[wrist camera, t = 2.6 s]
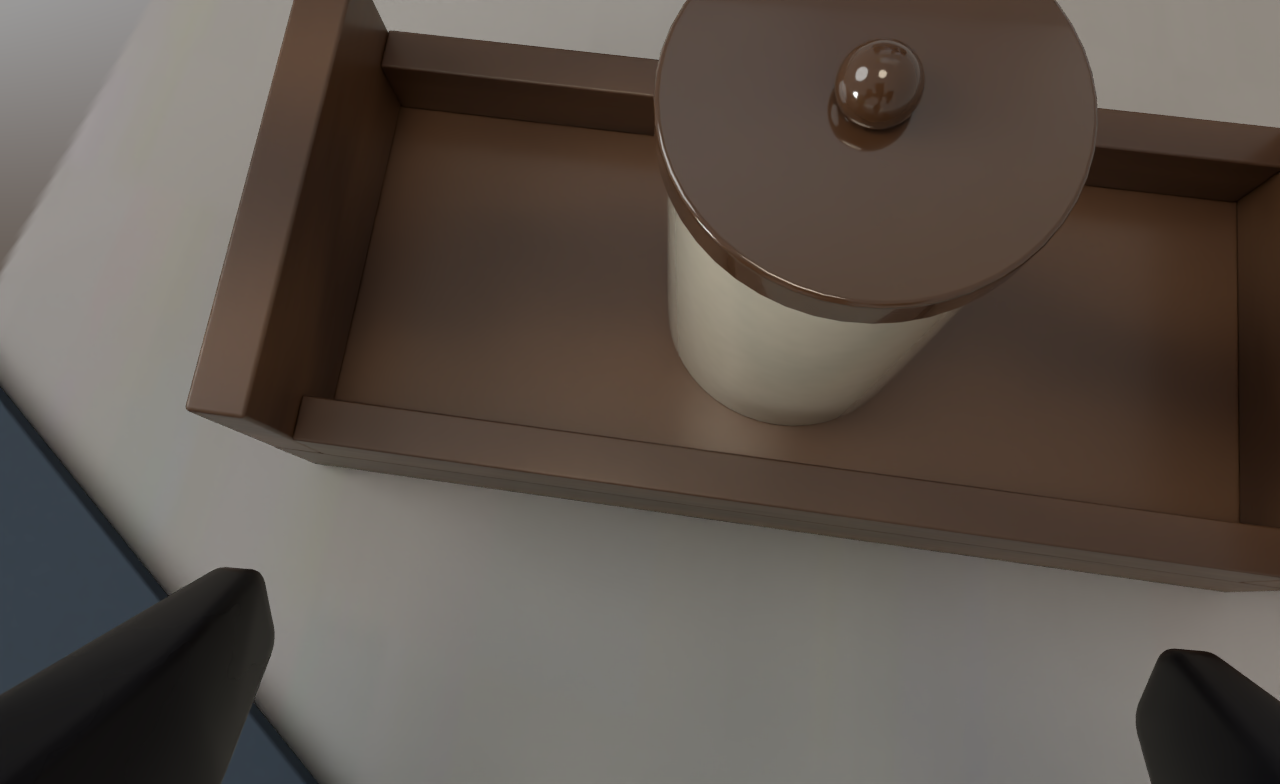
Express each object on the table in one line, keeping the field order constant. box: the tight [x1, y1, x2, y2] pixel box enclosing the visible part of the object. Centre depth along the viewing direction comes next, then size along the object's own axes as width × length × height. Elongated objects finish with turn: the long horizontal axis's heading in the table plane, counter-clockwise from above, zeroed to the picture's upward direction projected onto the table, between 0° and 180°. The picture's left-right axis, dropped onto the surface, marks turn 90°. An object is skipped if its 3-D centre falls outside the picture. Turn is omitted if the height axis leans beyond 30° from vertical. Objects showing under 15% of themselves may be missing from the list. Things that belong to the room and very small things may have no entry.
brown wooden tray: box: [186, 0, 1280, 592], centre depth 21 cm, size 10×23×6 cm, turn 82°
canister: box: [653, 0, 1098, 426], centre depth 17 cm, size 6×6×10 cm
